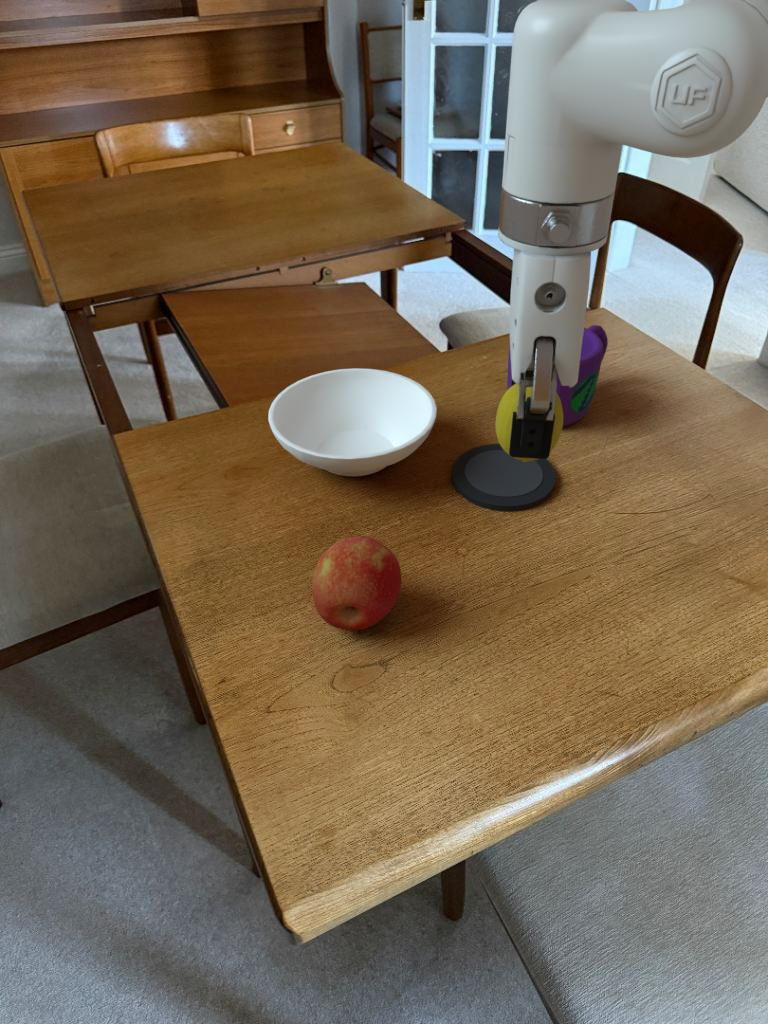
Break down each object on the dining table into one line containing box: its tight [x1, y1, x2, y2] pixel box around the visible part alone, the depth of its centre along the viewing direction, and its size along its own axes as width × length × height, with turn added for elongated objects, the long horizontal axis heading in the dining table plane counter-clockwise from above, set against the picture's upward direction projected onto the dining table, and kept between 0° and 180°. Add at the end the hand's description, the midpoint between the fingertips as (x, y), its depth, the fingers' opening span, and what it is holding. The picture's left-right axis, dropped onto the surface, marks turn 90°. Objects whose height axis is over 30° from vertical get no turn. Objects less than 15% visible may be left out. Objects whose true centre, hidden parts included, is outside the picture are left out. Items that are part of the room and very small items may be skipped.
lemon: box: [494, 384, 564, 462], centre depth 62 cm, size 6×6×8 cm
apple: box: [311, 535, 402, 631], centre depth 68 cm, size 8×8×8 cm
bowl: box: [267, 367, 438, 477], centre depth 88 cm, size 20×20×7 cm
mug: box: [506, 324, 609, 427], centre depth 96 cm, size 17×11×10 cm, turn 133°
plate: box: [451, 443, 557, 512], centre depth 86 cm, size 12×12×1 cm
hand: (528, 432), depth 63 cm, fingers closed on lemon, 5 cm apart
